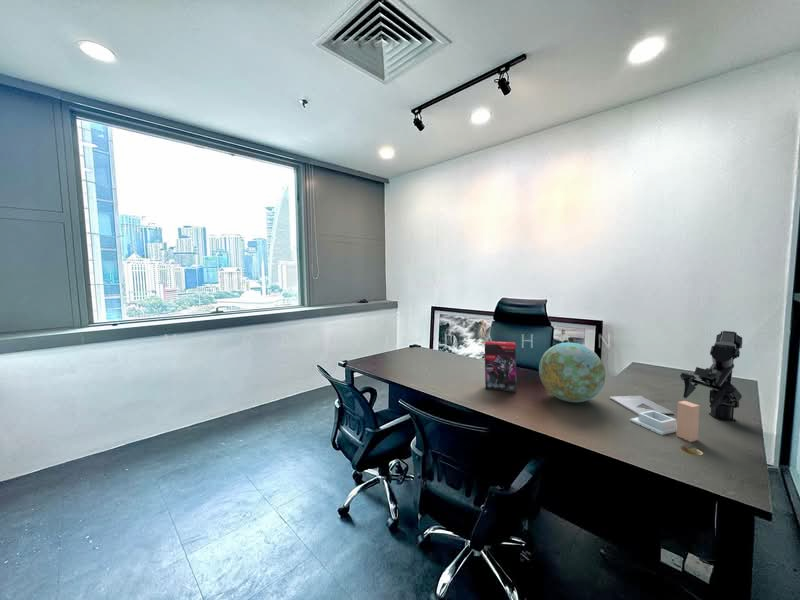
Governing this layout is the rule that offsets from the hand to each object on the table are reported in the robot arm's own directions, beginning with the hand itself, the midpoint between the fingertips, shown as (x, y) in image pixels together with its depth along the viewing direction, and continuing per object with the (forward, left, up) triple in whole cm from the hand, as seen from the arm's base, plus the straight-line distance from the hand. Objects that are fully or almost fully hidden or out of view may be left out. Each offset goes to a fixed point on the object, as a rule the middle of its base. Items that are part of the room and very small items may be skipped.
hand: (697, 402), depth 129 cm
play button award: (+7, -26, -14) cm, 30 cm away
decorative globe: (+37, -31, -13) cm, 50 cm away
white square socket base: (+11, -6, -13) cm, 18 cm away
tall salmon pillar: (+6, +4, -13) cm, 15 cm away
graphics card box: (+70, -44, -13) cm, 84 cm away
